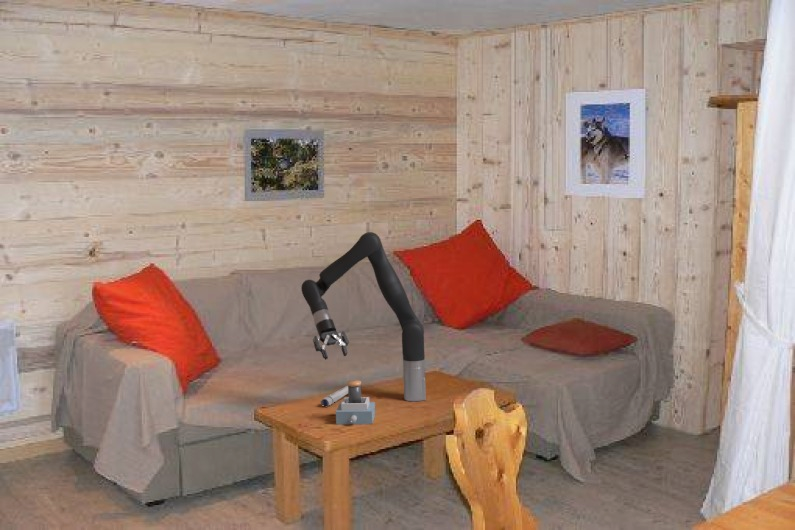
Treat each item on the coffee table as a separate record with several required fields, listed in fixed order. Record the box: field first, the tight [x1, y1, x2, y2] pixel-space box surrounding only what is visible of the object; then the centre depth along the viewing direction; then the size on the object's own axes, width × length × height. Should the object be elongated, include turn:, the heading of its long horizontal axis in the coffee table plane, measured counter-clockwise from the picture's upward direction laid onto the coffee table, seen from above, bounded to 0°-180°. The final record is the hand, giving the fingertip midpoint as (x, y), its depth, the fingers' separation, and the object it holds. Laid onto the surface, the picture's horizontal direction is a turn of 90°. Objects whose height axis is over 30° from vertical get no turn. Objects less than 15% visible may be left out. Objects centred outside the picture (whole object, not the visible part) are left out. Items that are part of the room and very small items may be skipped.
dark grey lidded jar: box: [346, 379, 362, 403], centre depth 351 cm, size 5×5×10 cm
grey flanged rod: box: [320, 385, 348, 407], centre depth 382 cm, size 5×7×25 cm
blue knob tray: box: [335, 396, 376, 425], centre depth 351 cm, size 14×17×8 cm
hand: (336, 357), depth 365 cm, fingers open, 8 cm apart
